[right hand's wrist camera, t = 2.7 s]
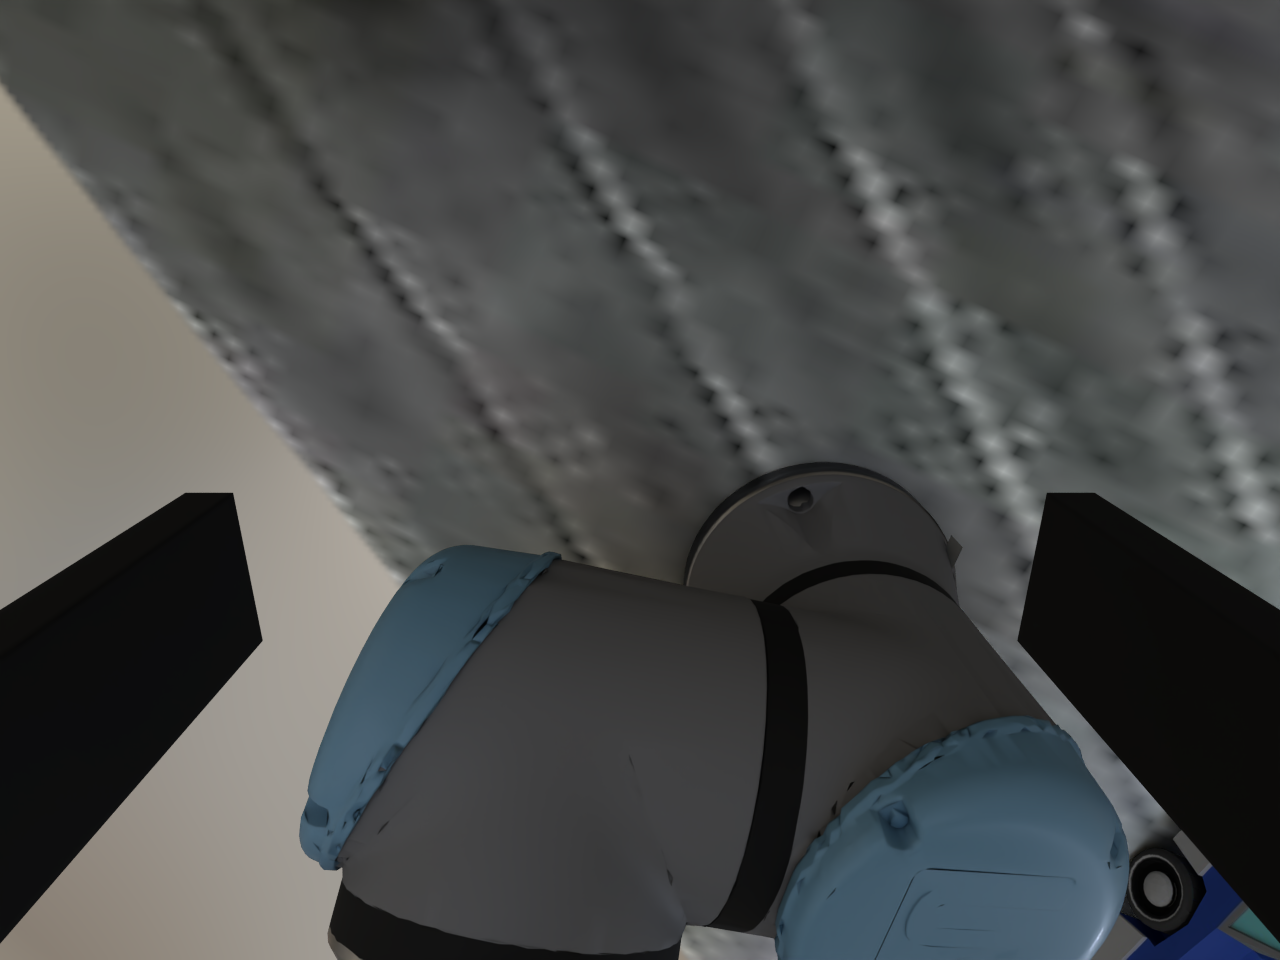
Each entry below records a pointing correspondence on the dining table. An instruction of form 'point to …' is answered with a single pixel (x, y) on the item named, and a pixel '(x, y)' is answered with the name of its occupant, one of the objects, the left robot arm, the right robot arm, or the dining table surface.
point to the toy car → (1185, 913)
